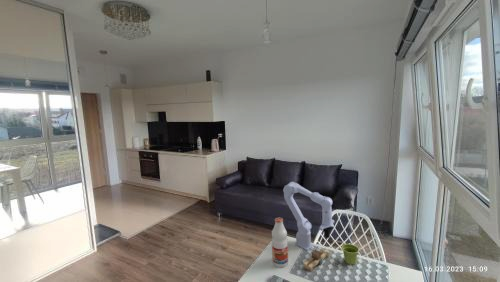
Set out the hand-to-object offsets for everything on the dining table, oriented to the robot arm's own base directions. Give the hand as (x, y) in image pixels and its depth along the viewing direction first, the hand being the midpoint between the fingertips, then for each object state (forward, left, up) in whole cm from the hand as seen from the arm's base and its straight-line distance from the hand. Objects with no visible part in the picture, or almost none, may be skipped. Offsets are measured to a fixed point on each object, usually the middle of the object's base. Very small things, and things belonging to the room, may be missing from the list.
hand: (327, 237), depth 148 cm
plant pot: (+15, 0, -10) cm, 18 cm away
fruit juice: (-14, -30, -10) cm, 35 cm away
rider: (+1, -14, -8) cm, 16 cm away
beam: (+1, -14, -10) cm, 17 cm away
